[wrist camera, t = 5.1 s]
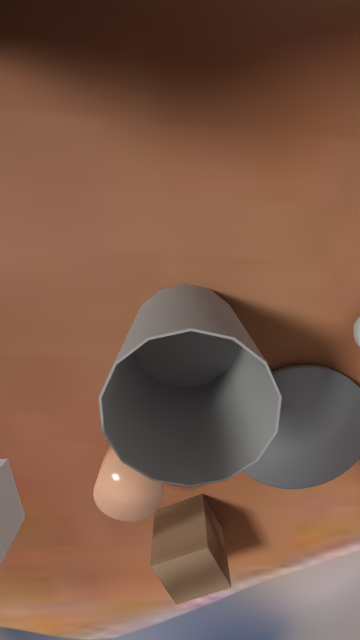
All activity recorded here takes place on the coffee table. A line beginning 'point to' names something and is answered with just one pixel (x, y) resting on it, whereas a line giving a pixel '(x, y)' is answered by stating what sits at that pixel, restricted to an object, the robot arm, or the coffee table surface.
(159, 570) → the walnut block
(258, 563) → the coffee table surface
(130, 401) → the cup
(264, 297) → the coffee table surface
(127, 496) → the peach capsule shape
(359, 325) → the grey ball
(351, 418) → the coaster
